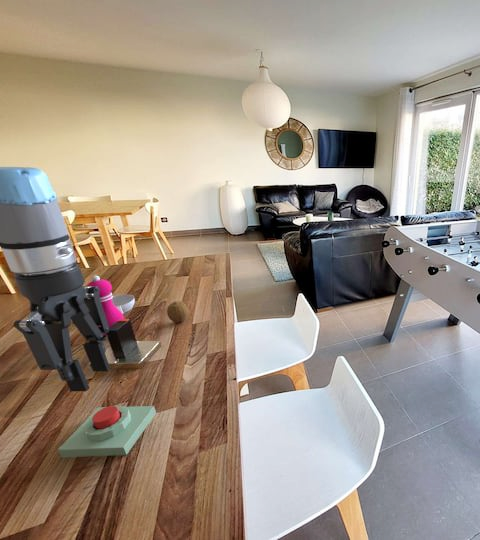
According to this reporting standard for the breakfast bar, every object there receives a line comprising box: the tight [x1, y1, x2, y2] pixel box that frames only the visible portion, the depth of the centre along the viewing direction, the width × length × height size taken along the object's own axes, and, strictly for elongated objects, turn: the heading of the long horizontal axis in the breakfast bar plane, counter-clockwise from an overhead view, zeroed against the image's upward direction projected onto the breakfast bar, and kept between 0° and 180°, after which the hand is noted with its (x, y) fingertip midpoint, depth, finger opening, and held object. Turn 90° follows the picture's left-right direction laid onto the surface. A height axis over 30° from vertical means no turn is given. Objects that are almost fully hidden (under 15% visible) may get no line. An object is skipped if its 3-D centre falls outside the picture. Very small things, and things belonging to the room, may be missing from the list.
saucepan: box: [112, 294, 136, 315], centre depth 104 cm, size 11×18×4 cm, turn 45°
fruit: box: [166, 300, 189, 323], centre depth 99 cm, size 6×6×8 cm
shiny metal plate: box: [88, 340, 162, 370], centre depth 82 cm, size 13×10×2 cm
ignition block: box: [57, 405, 157, 458], centre depth 60 cm, size 12×10×4 cm
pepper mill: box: [86, 275, 125, 335], centre depth 90 cm, size 7×7×20 cm
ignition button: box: [92, 405, 120, 429], centre depth 59 cm, size 4×4×2 cm
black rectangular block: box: [106, 318, 138, 358], centre depth 80 cm, size 6×3×9 cm, turn 4°
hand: (91, 379), depth 55 cm, fingers open, 4 cm apart
